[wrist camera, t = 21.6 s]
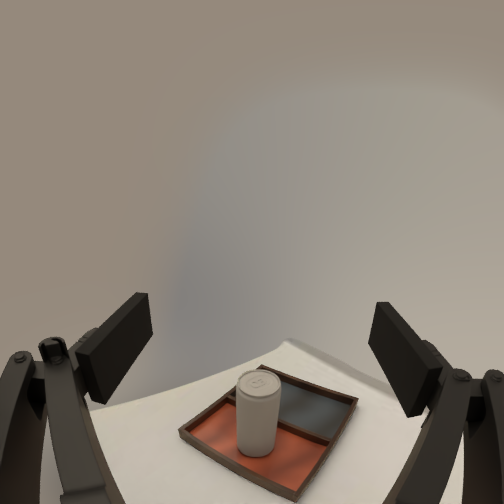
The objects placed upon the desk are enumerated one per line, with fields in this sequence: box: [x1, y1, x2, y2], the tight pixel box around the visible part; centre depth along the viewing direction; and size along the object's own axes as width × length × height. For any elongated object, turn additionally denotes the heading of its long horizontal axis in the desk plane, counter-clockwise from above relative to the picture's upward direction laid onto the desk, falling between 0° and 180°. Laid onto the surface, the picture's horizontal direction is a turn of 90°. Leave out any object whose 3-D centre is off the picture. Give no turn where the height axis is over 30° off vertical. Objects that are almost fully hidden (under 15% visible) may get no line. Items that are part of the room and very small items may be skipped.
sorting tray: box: [178, 364, 359, 502], centre depth 35 cm, size 18×20×2 cm
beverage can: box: [236, 369, 281, 457], centre depth 29 cm, size 5×5×12 cm
